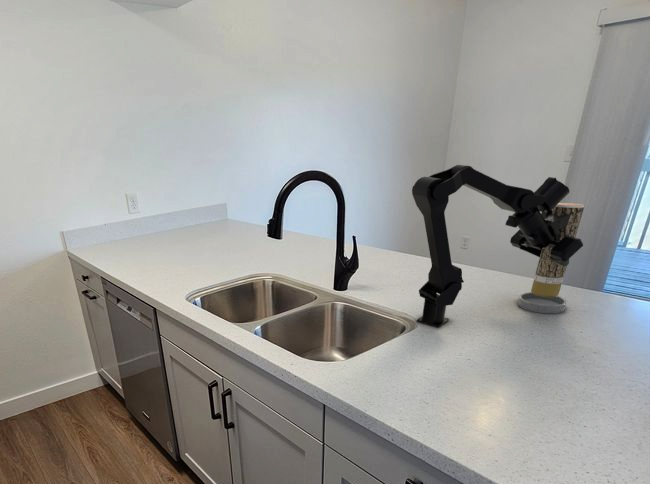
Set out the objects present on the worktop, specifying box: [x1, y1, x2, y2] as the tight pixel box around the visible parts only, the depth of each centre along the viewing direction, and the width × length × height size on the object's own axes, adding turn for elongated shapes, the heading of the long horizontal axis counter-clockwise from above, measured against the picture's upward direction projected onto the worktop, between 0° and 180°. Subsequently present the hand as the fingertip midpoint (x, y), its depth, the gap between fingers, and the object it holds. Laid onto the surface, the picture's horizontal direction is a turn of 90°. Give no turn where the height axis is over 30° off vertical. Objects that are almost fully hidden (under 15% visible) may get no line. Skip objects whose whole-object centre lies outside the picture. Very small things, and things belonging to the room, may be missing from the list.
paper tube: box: [530, 202, 585, 297], centre depth 120 cm, size 7×7×25 cm
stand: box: [517, 291, 567, 314], centre depth 127 cm, size 12×12×2 cm
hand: (556, 261), depth 122 cm, fingers closed on paper tube, 7 cm apart
